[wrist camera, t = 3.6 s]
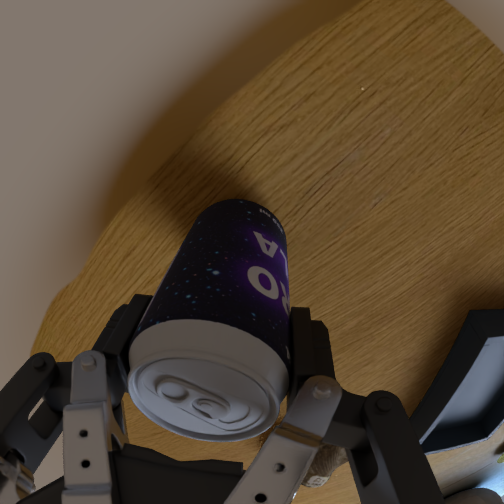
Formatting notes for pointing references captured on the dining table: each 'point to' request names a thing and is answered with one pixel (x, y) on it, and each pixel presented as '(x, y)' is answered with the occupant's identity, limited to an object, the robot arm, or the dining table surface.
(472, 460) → the dining table surface
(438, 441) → the dark blue tray
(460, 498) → the bowl
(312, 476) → the fossilized seashell
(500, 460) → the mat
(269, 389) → the beverage can
